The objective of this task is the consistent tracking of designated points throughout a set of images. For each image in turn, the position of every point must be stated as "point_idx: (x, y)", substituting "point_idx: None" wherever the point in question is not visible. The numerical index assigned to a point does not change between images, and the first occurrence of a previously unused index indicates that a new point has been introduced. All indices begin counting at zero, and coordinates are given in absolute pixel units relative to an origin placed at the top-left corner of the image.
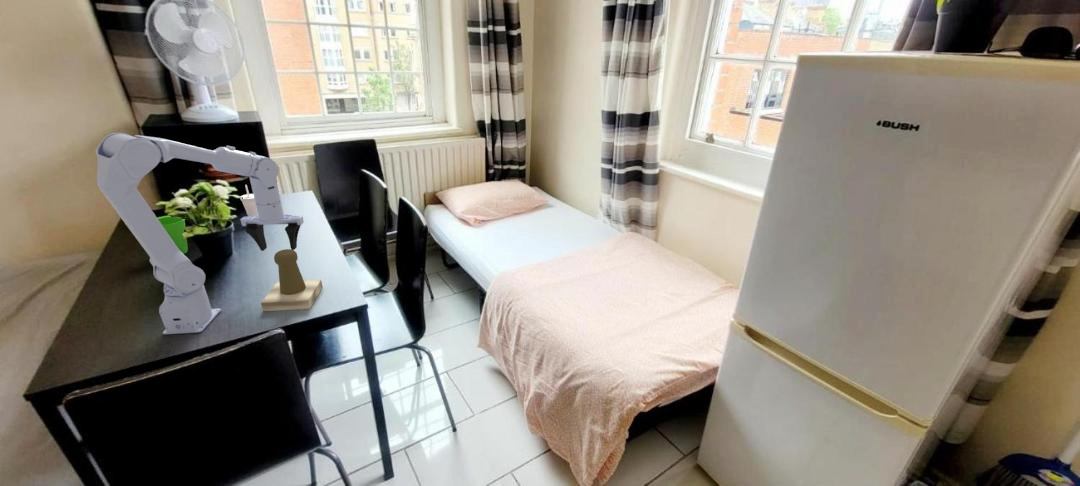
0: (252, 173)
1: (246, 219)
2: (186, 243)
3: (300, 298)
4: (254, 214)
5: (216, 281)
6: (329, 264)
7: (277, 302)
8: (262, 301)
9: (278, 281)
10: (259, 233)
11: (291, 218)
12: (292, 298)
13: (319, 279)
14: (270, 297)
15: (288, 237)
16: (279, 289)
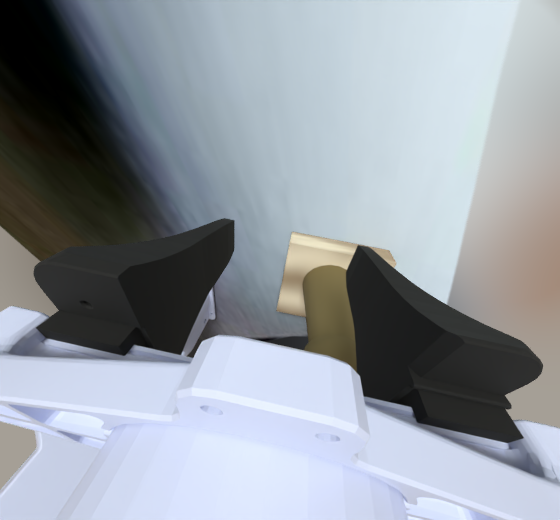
0: None
1: (31, 428)
2: None
3: None
4: None
5: (118, 141)
6: (455, 76)
7: (304, 316)
8: (277, 307)
9: (291, 244)
10: (189, 303)
11: (467, 511)
12: None
13: (392, 262)
14: (288, 300)
15: (355, 341)
16: (300, 279)
